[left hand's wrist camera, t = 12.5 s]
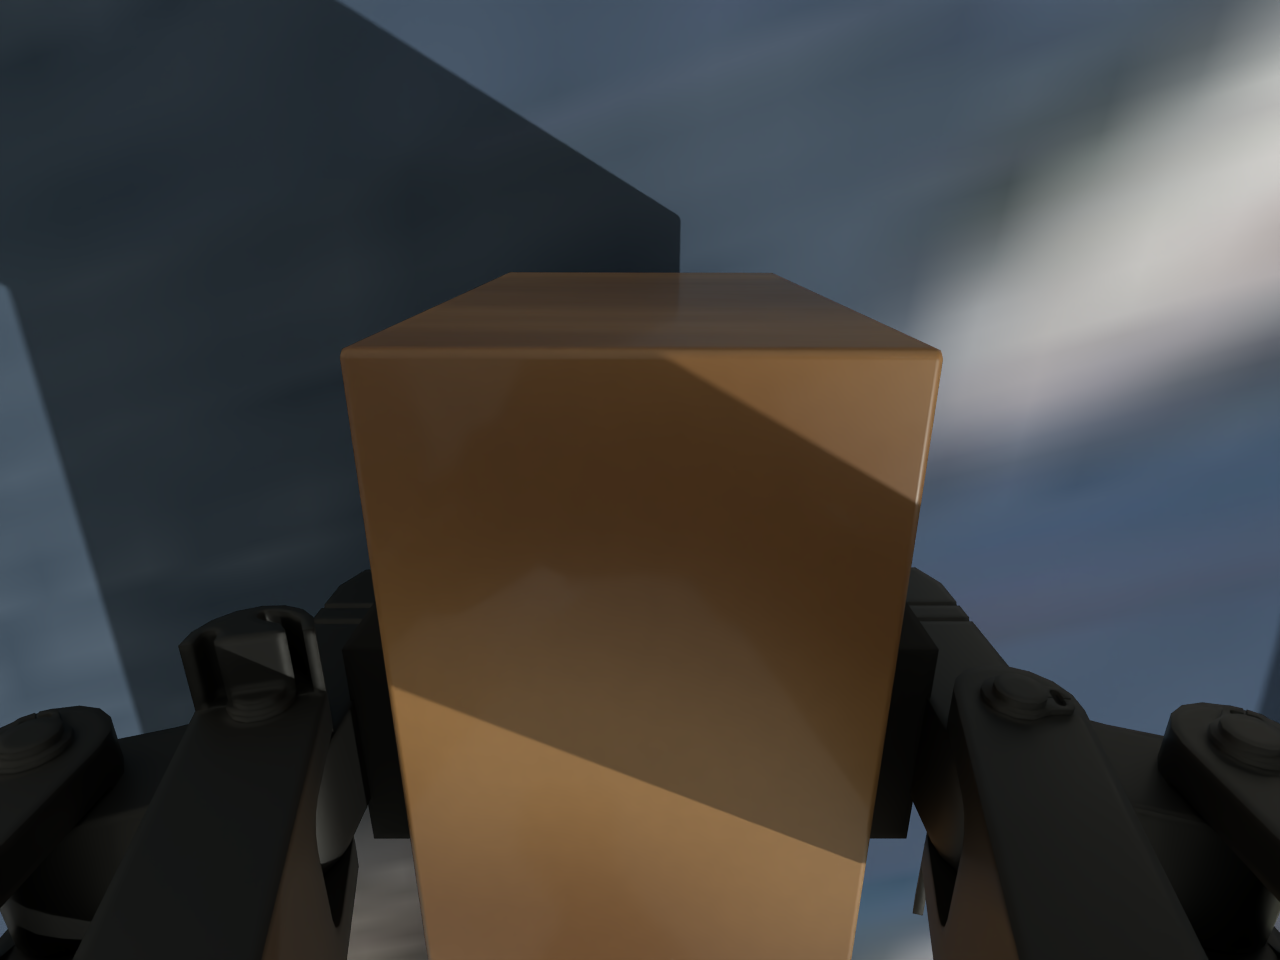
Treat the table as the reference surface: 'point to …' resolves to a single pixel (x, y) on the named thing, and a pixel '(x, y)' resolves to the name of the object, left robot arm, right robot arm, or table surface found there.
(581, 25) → the table surface
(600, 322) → the post
